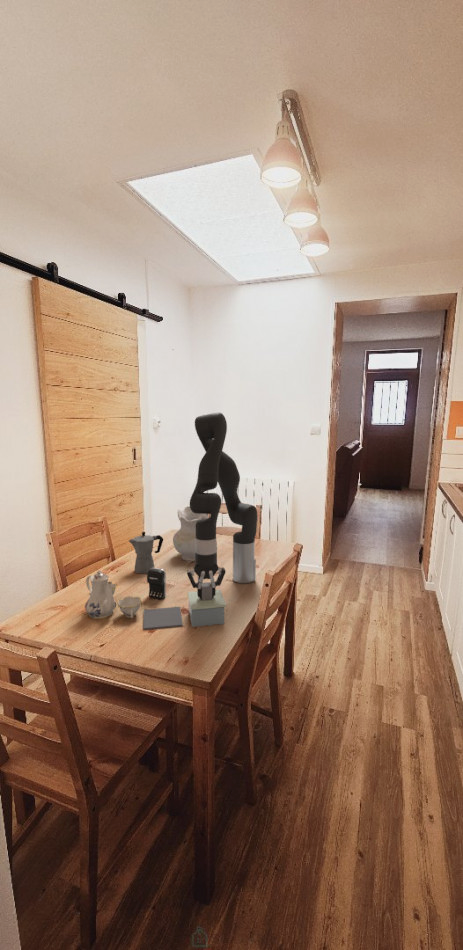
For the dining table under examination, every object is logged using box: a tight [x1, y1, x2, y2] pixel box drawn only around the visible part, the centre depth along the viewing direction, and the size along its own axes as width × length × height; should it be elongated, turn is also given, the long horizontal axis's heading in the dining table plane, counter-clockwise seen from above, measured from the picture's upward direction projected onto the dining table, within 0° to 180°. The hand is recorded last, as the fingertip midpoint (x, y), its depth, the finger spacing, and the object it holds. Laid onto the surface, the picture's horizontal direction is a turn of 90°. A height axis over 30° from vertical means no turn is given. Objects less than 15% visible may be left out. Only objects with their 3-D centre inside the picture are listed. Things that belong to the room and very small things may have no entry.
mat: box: [142, 606, 184, 631], centre depth 145 cm, size 13×13×1 cm
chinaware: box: [84, 570, 143, 620], centre depth 150 cm, size 28×17×17 cm, turn 50°
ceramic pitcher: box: [172, 506, 210, 562], centre depth 203 cm, size 22×20×25 cm
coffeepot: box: [128, 531, 164, 575], centre depth 187 cm, size 15×9×18 cm, turn 113°
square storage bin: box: [188, 602, 225, 628], centre depth 145 cm, size 11×11×6 cm
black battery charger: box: [146, 567, 167, 600], centre depth 160 cm, size 7×4×11 cm, turn 70°
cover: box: [187, 581, 227, 610], centre depth 144 cm, size 12×12×6 cm
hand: (206, 597), depth 145 cm, fingers closed on cover, 3 cm apart
